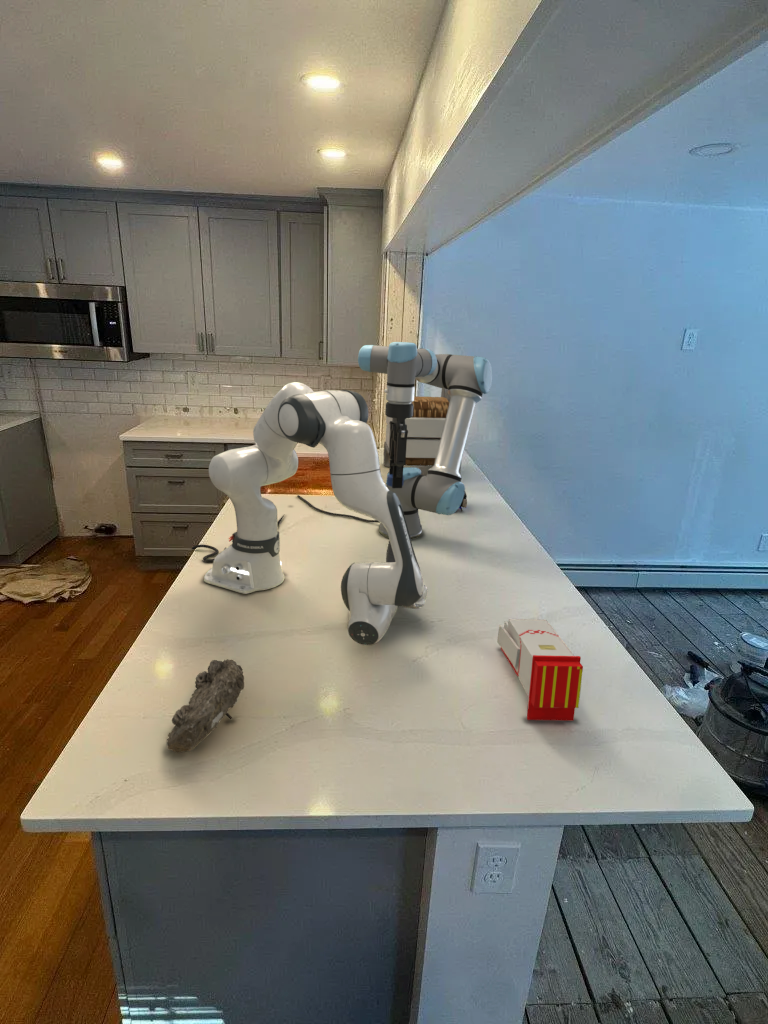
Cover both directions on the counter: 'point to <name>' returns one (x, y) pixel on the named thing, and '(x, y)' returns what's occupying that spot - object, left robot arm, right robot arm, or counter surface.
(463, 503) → the figurine character
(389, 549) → the bottle
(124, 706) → the counter surface
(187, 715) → the fossil
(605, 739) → the counter surface
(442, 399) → the light boxy container
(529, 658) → the toy
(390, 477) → the cap
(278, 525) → the feather
